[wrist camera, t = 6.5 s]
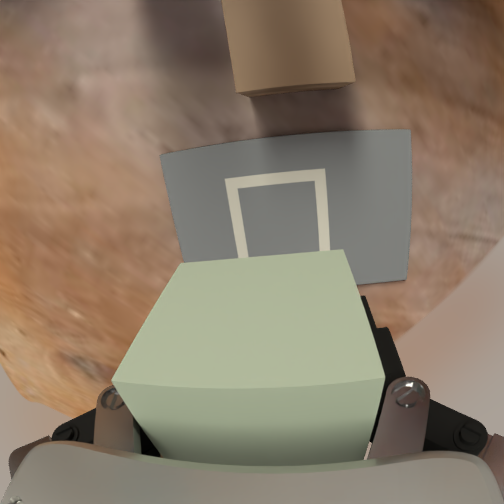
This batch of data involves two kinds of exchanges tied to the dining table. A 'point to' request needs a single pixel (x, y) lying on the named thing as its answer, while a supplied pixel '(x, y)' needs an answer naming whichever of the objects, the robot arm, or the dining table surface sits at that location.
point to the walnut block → (287, 45)
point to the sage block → (256, 363)
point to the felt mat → (297, 199)
